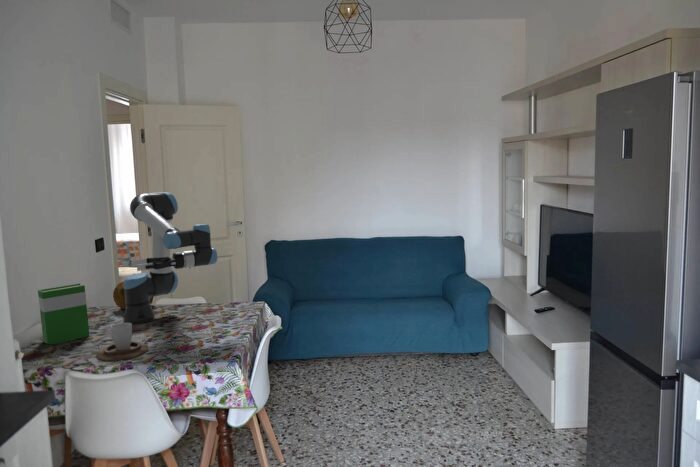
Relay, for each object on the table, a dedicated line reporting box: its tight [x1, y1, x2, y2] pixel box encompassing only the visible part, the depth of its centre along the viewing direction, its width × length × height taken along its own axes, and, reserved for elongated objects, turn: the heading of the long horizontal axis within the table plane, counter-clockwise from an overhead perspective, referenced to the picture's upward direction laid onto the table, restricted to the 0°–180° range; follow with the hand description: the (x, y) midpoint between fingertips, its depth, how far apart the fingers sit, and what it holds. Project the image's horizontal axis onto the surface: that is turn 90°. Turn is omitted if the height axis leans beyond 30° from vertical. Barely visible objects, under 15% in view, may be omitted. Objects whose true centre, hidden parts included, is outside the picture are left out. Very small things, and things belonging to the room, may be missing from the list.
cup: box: [110, 322, 133, 350], centre depth 230 cm, size 8×8×10 cm
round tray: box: [96, 340, 149, 362], centre depth 229 cm, size 20×20×2 cm
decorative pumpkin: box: [112, 280, 154, 310], centre depth 303 cm, size 20×21×20 cm
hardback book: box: [37, 283, 91, 345], centre depth 250 cm, size 18×7×24 cm, turn 133°
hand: (134, 265), depth 240 cm, fingers open, 13 cm apart
